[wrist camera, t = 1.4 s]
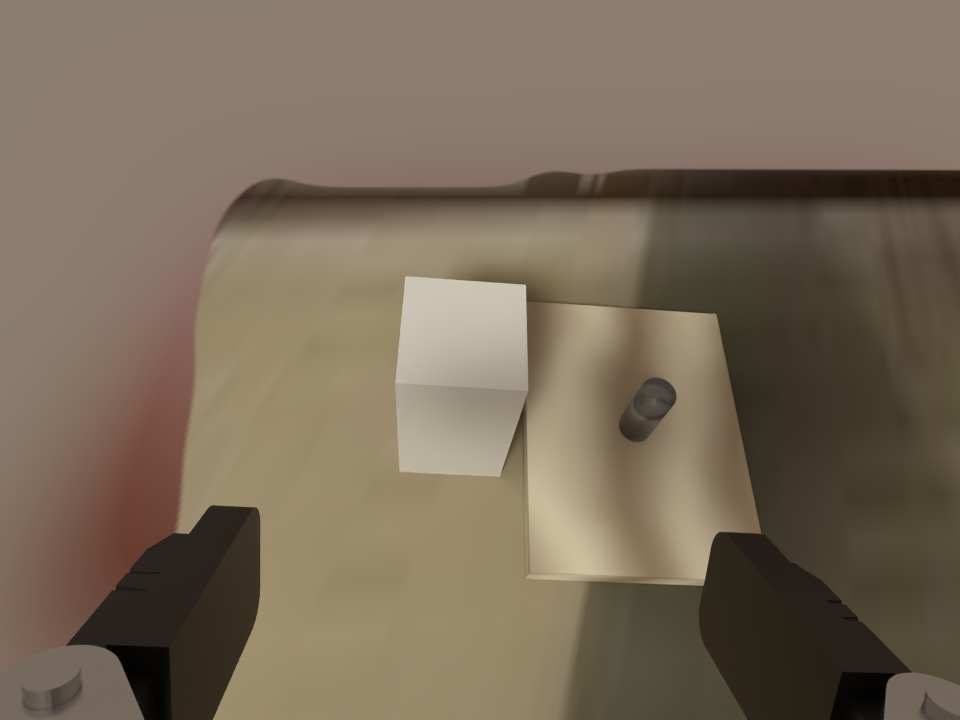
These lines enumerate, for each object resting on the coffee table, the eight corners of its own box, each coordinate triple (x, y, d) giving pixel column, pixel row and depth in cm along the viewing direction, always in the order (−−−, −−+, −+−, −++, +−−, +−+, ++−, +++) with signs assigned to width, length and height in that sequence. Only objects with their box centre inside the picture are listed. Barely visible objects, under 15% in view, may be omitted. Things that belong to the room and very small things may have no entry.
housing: (500, 388, 38) (525, 284, 29) (499, 476, 35) (528, 390, 26) (407, 383, 37) (405, 276, 29) (399, 471, 35) (395, 383, 26)
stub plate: (706, 327, 41) (744, 274, 37) (757, 587, 33) (814, 562, 28) (520, 315, 40) (535, 258, 36) (525, 578, 32) (544, 551, 28)
